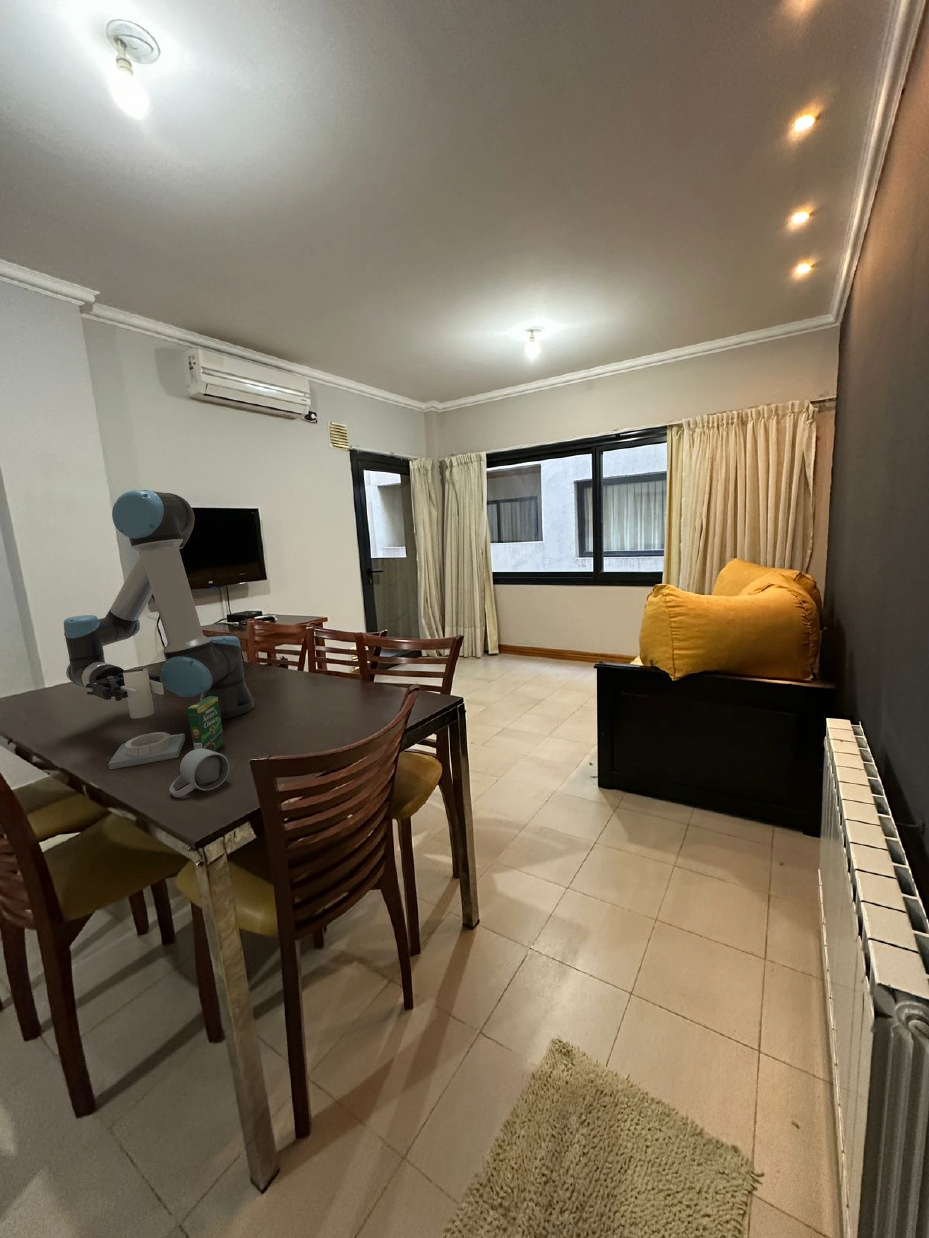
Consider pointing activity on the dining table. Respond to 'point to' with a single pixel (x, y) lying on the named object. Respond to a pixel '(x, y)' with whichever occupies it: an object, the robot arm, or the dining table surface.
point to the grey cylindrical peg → (139, 692)
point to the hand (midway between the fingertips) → (149, 692)
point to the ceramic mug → (201, 771)
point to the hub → (147, 749)
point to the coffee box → (206, 724)
